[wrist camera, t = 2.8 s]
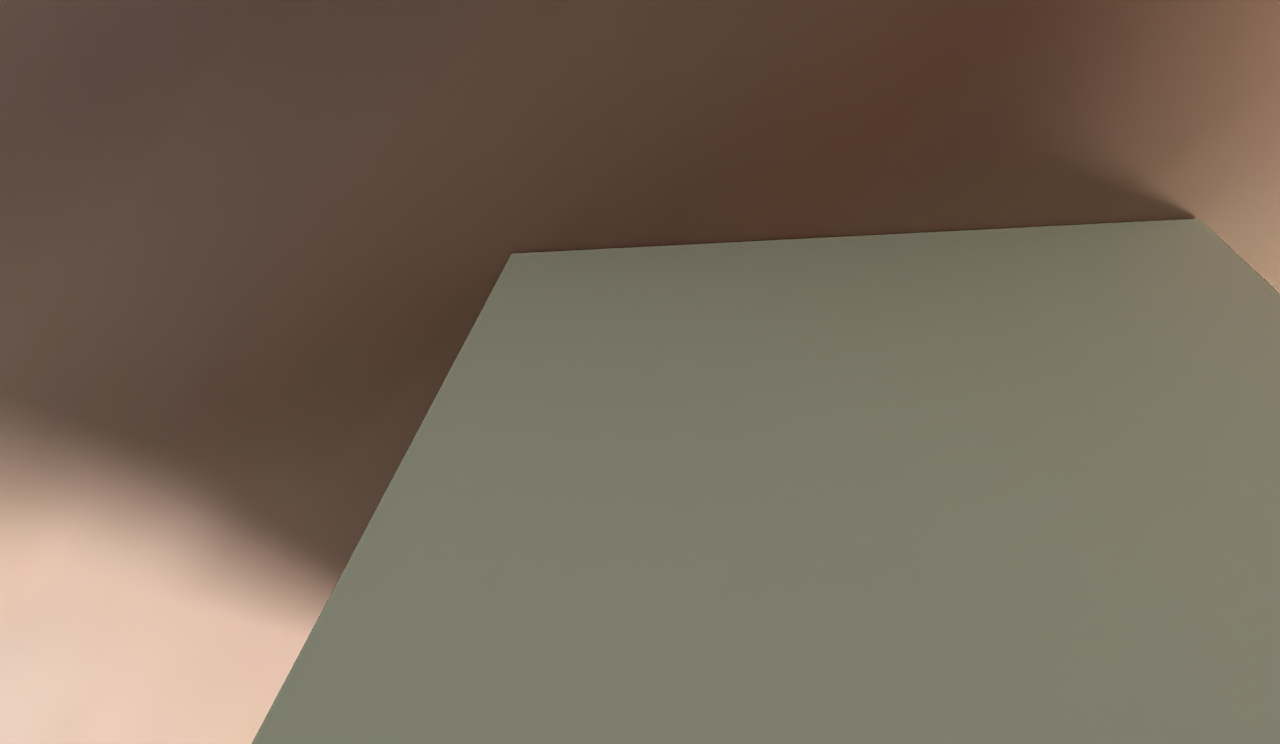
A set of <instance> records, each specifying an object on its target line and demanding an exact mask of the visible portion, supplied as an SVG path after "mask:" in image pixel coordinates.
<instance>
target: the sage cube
mask: <svg viewBox="0 0 1280 744" xmlns="http://www.w3.org/2000/svg"><path fill="white" fill-rule="evenodd" d="M252 744H1280V294H1279V293H1278V292H1277V291H1276V290H1275V289H1274V288H1273V287H1272V286H1271V285H1270V284H1269V283H1268V282H1267V281H1265V280H1264V279H1263V278H1262V277H1261V276H1260V275H1259V274H1258V273H1257V272H1256V271H1255V270H1254V269H1253V268H1251V267H1250V266H1249V265H1248V264H1247V263H1246V262H1245V261H1244V260H1243V259H1242V258H1241V257H1240V256H1239V255H1238V254H1236V253H1235V252H1234V251H1233V250H1232V249H1231V248H1230V247H1229V246H1228V245H1227V244H1226V243H1225V242H1224V241H1222V240H1221V239H1220V238H1219V237H1218V236H1217V235H1216V234H1215V233H1214V232H1213V231H1212V230H1211V229H1210V228H1209V227H1207V226H1206V225H1205V224H1204V223H1203V222H1202V221H1201V220H1200V219H1179V220H1160V221H1140V222H1120V223H1101V224H1081V225H1062V226H1042V227H1022V228H1003V229H983V230H963V231H944V232H924V233H904V234H885V235H865V236H846V237H826V238H806V239H787V240H767V241H747V242H728V243H708V244H688V245H669V246H649V247H630V248H610V249H590V250H571V251H551V252H531V253H512V254H511V256H510V258H509V260H508V261H507V263H506V265H505V267H504V269H503V271H502V273H501V275H500V276H499V278H498V280H497V282H496V284H495V286H494V288H493V290H492V292H491V293H490V295H489V297H488V299H487V301H486V303H485V305H484V307H483V309H482V310H481V312H480V314H479V316H478V318H477V320H476V322H475V324H474V326H473V327H472V329H471V331H470V333H469V335H468V337H467V339H466V341H465V342H464V344H463V346H462V348H461V350H460V352H459V354H458V356H457V358H456V359H455V361H454V363H453V365H452V367H451V369H450V371H449V373H448V375H447V376H446V378H445V380H444V382H443V384H442V386H441V388H440V390H439V392H438V393H437V395H436V397H435V399H434V401H433V403H432V405H431V407H430V409H429V410H428V412H427V414H426V416H425V418H424V420H423V422H422V424H421V425H420V427H419V429H418V431H417V433H416V435H415V437H414V439H413V441H412V442H411V444H410V446H409V448H408V450H407V452H406V454H405V456H404V458H403V459H402V461H401V463H400V465H399V467H398V469H397V471H396V473H395V475H394V476H393V478H392V480H391V482H390V484H389V486H388V488H387V490H386V491H385V493H384V495H383V497H382V499H381V501H380V503H379V505H378V507H377V508H376V510H375V512H374V514H373V516H372V518H371V520H370V522H369V524H368V525H367V527H366V529H365V531H364V533H363V535H362V537H361V539H360V541H359V542H358V544H357V546H356V548H355V550H354V552H353V554H352V556H351V558H350V559H349V561H348V563H347V565H346V567H345V569H344V571H343V573H342V574H341V576H340V578H339V580H338V582H337V584H336V586H335V588H334V590H333V591H332V593H331V595H330V597H329V599H328V601H327V603H326V605H325V607H324V608H323V610H322V612H321V614H320V616H319V618H318V620H317V622H316V624H315V625H314V627H313V629H312V631H311V633H310V635H309V637H308V639H307V640H306V642H305V644H304V646H303V648H302V650H301V652H300V654H299V656H298V657H297V659H296V661H295V663H294V665H293V667H292V669H291V671H290V673H289V674H288V676H287V678H286V680H285V682H284V684H283V686H282V688H281V690H280V691H279V693H278V695H277V697H276V699H275V701H274V703H273V705H272V706H271V708H270V710H269V712H268V714H267V716H266V718H265V720H264V722H263V723H262V725H261V727H260V729H259V731H258V733H257V735H256V737H255V739H254V740H253V742H252Z"/></svg>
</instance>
